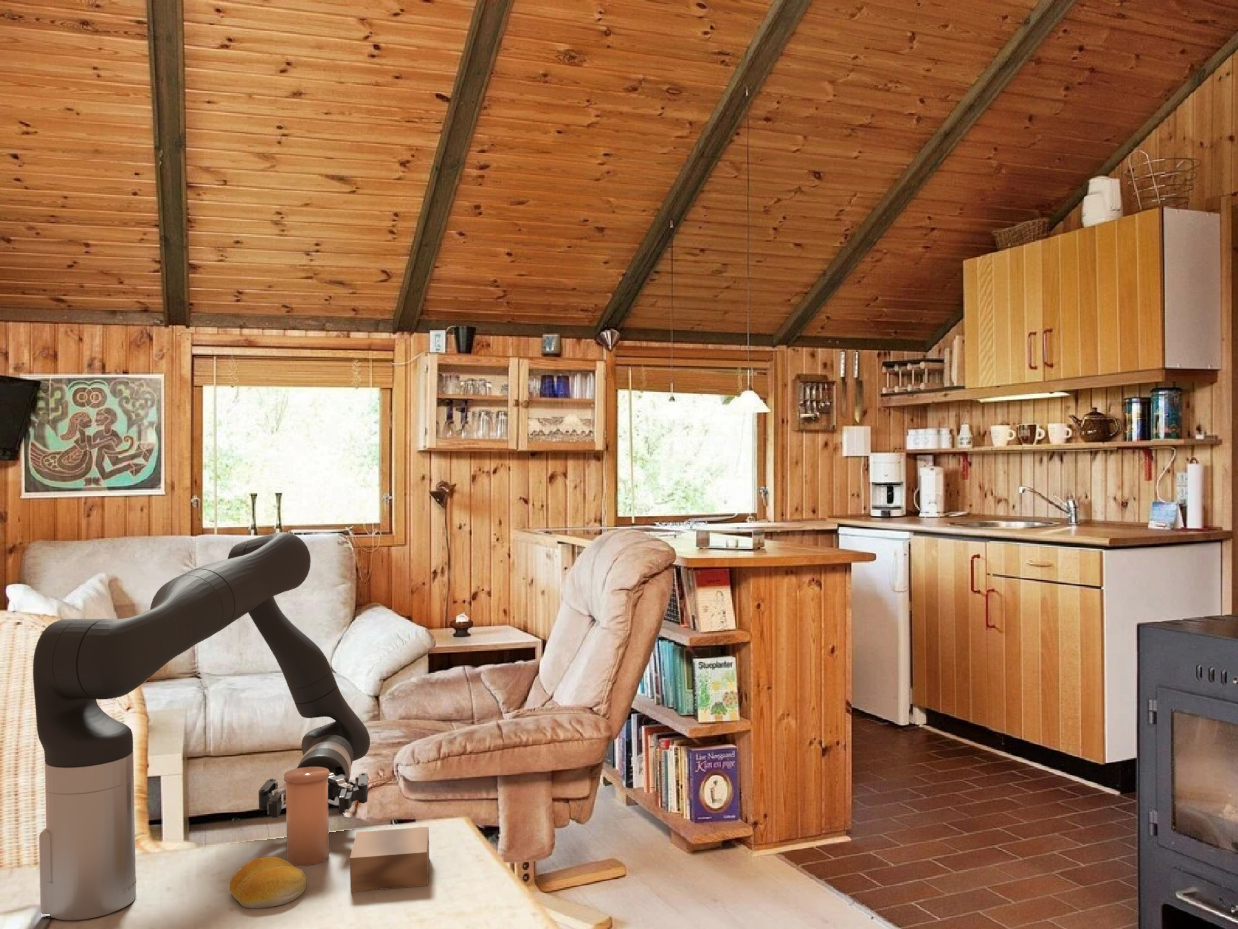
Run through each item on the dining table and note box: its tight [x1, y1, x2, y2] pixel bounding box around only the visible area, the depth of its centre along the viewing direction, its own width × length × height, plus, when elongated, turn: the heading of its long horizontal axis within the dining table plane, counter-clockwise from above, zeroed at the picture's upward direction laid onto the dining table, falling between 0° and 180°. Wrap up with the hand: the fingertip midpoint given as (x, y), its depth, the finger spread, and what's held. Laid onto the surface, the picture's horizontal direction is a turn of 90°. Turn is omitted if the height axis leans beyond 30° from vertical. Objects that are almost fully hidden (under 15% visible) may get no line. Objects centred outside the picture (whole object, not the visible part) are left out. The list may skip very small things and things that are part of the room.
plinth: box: [349, 826, 430, 893], centre depth 129 cm, size 9×9×4 cm
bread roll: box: [229, 856, 307, 909], centre depth 124 cm, size 8×9×4 cm
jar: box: [283, 767, 330, 866], centre depth 135 cm, size 6×6×11 cm
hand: (308, 808), depth 136 cm, fingers open, 8 cm apart
